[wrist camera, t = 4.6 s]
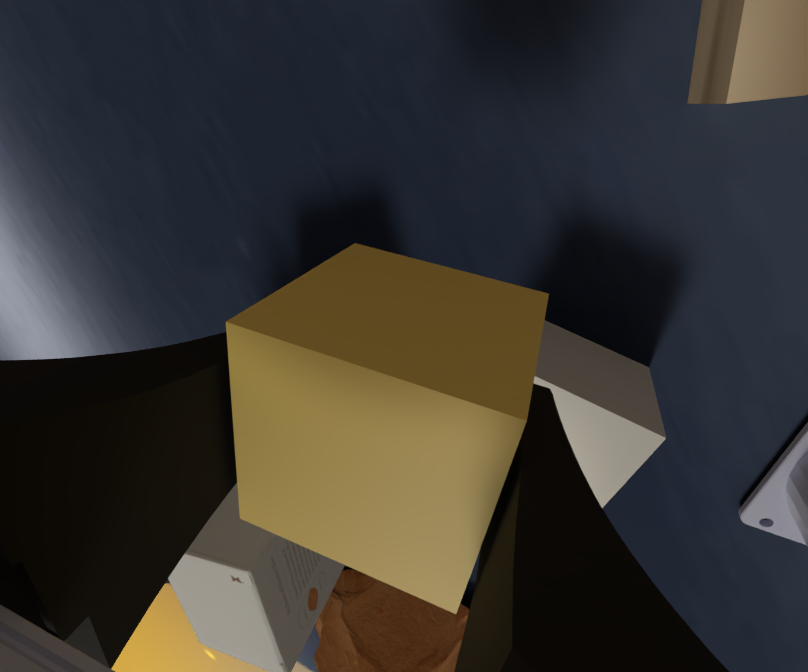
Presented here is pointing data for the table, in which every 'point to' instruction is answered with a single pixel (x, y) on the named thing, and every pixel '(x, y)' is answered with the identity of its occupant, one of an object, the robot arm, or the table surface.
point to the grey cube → (600, 407)
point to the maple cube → (750, 51)
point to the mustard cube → (383, 413)
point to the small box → (252, 589)
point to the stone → (385, 629)
